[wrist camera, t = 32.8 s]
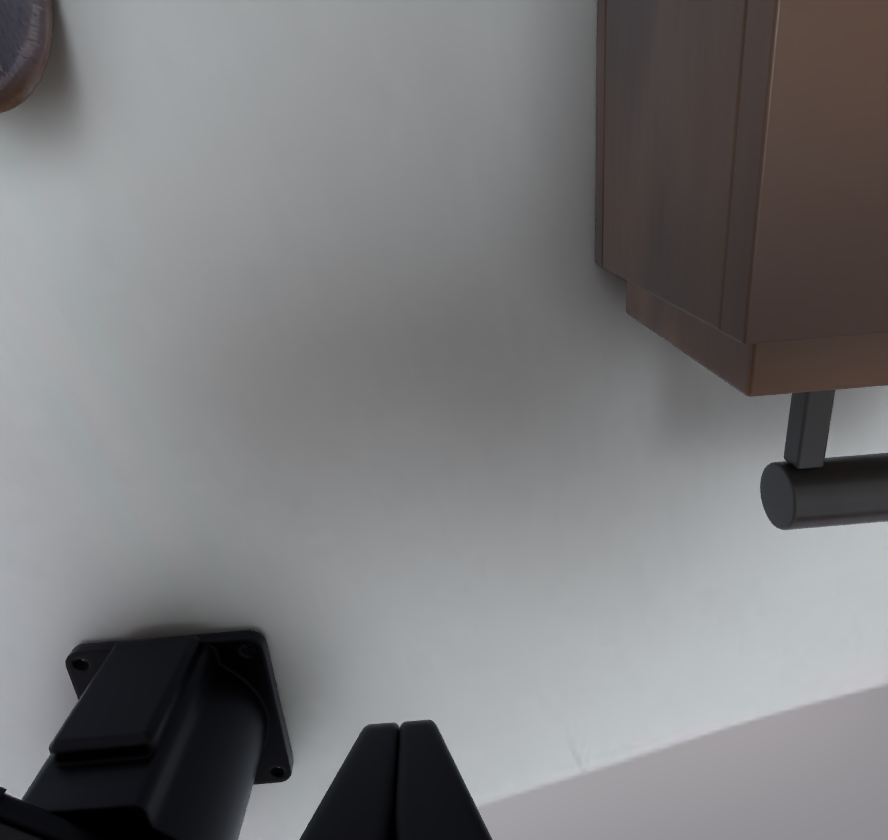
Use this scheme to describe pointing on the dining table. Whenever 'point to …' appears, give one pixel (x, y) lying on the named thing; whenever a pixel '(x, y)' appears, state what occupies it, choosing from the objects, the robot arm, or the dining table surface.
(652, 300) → the drawer
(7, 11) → the tin
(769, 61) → the cabinet
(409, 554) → the dining table surface
